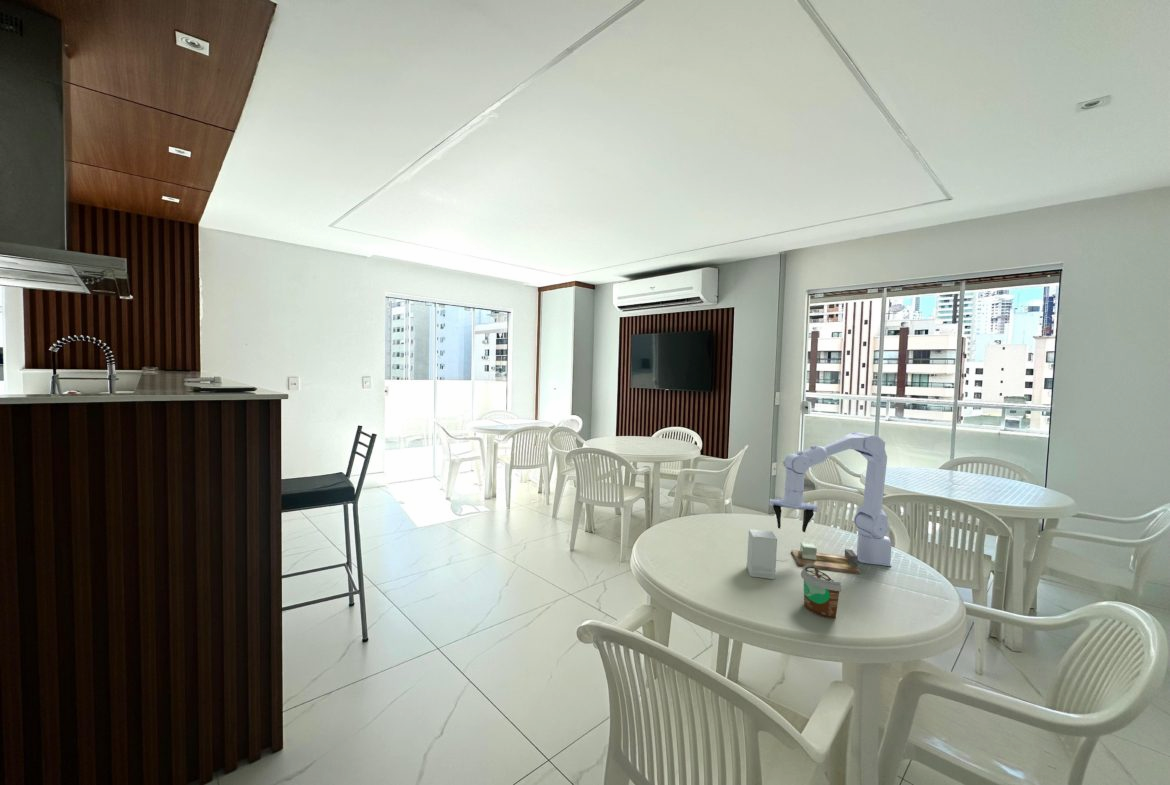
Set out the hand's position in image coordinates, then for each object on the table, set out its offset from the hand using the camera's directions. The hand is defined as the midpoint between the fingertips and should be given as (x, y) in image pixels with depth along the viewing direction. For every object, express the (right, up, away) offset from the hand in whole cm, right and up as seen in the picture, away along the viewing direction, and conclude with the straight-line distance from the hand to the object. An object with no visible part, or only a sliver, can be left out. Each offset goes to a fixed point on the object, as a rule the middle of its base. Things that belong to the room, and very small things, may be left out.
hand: (791, 529), depth 152 cm
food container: (-9, -12, -32) cm, 35 cm away
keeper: (+6, -9, 0) cm, 11 cm away
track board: (+10, -11, -1) cm, 15 cm away
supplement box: (-15, -11, -11) cm, 21 cm away
